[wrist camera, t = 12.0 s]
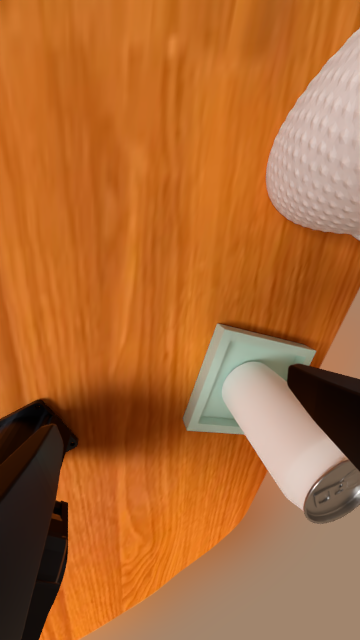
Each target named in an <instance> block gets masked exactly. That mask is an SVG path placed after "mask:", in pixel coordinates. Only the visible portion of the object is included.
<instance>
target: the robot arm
mask: <svg viewBox="0 0 360 640" xmlns="http://www.w3.org/2000/svg"><path fill="white" fill-rule="evenodd" d="M287 385H288V387H289V389H290V390H291V391H292V393H293V394H294V395H295V397H296V398H297V399H298V401H299V402H300V403H301V405H302V406H303V407H304V409H305V410H306V411H307V413H308V414H309V415H310V417H311V418H312V419H313V420H314V421H315V423H316V424H317V425H318V426H319V427H320V428H321V429H322V431H323V432H324V433H325V434H326V435H327V436H328V437H329V438H330V439H331V441H332V442H333V443H334V444H335V445H336V446H337V447H338V448H339V449H340V451H341V452H342V453H343V454H344V455H345V456H346V457H347V458H348V459H349V460H350V462H351V463H352V464H353V465H354V466H355V467H356V468H357V469H358V470H359V472H360V379H357V378H353V377H349V376H345V375H341V374H338V373H334V372H330V371H326V370H322V369H319V368H315V367H311V366H307V365H303V364H299V363H297V364H293V365H290V366H289V367H288V374H287ZM36 405H39V406H40V407H37V406H36ZM72 442H74V443H72ZM77 445H78V439H77V437H76V436H75V435H74V434H73V433H72V432H71V430H70V429H69V428H68V427H67V426H66V425H65V424H64V423H63V421H62V420H61V419H60V418H59V417H58V416H57V415H55V414H54V413H53V412H52V410H51V409H50V408H49V407H48V406H47V405H46V404H45V403H44V402H43V401H41V400H37V401H34V402H32V403H30V404H28V405H26V406H25V407H23V408H21V409H19V410H17V411H15V412H13V413H11V414H9V415H7V416H5V417H3V418H1V419H0V640H39V638H40V635H41V632H42V629H43V627H44V624H45V621H46V618H47V616H48V613H49V611H50V609H51V607H52V605H53V603H54V600H55V598H56V596H57V593H58V591H59V588H60V585H61V582H62V579H63V576H64V572H65V568H66V563H67V555H68V503H67V502H64V501H61V502H59V501H56V495H57V489H58V482H59V475H60V469H61V466H62V462H63V459H64V456H65V453H66V452H68V451H69V450H71V449H73V448H75V447H76V446H77Z"/></svg>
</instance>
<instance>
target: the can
mask: <svg viewBox="0 0 360 640" xmlns="http://www.w3.org/2000/svg"><path fill="white" fill-rule="evenodd" d="M222 398H223V400H224V402H225V404H226V406H227V407H228V409H229V411H230V412H231V414H232V415H233V417H234V418H235V420H236V422H237V423H238V425H239V426H240V428H241V429H242V431H243V432H244V434H245V436H246V437H247V439H248V440H249V442H250V443H251V445H252V446H253V448H254V450H255V451H256V453H257V454H258V456H259V457H260V459H261V460H262V462H263V463H264V465H265V467H266V468H267V470H268V471H269V473H270V474H271V476H272V477H273V479H274V480H275V482H276V483H277V485H278V486H279V488H280V489H281V491H282V492H283V493H284V495H285V496H286V497H287V499H289V500H290V501H291V502H292V503H293V504H295V505H296V506H298V507H299V508H300V509H302V510H303V511H304V514H305V516H306V518H307V519H308V520H309V521H311V522H313V523H317V524H323V523H328V522H332V521H335V520H337V519H339V518H341V517H343V516H345V515H347V514H348V513H350V512H351V511H352V510H354V509H355V508H356V507H357V506H359V505H360V472H359V470H358V469H357V468H356V467H355V466H354V465H353V464H352V463H351V462H350V460H349V459H348V458H347V457H346V456H345V455H344V454H343V453H342V452H341V451H340V449H339V448H338V447H337V446H336V445H335V444H334V443H333V442H332V441H331V439H330V438H329V437H328V436H327V435H326V434H325V433H324V432H323V431H322V429H321V428H320V427H319V426H318V425H317V424H316V423H315V421H314V420H313V419H312V418H311V417H310V415H309V414H308V413H307V411H306V410H305V409H304V407H303V406H302V405H301V403H300V402H299V401H298V399H297V398H296V397H295V395H294V394H293V393H292V391H291V390H290V389H289V387H288V385H287V382H286V381H285V380H284V379H283V378H281V377H280V376H279V375H278V374H276V373H275V372H274V371H273V370H272V369H270V368H269V367H268V366H266V365H265V364H263V363H260V362H247V363H244V364H241V365H239V366H237V367H236V368H234V369H233V370H232V371H231V372H230V373H229V374H228V376H227V377H226V379H225V381H224V383H223V387H222Z"/></svg>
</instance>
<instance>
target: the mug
mask: <svg viewBox="0 0 360 640" xmlns="http://www.w3.org/2000/svg"><path fill="white" fill-rule="evenodd" d="M266 185H267V191H268V195H269V197H270V200H271V202H272V204H273V205H274V207H275V208H276V209H277V210H278V211H279V212H280V213H281V214H282V215H283V216H285V217H286V218H287V219H288V220H290V221H292V222H294V223H295V224H299V225H301V226H303V227H309V228H311V229H313V230H320V231H323V232H333V233H338V234H343V233H346V234H351V235H352V236H353V237H355V238H356V239H358V240H359V241H360V29H359V30H357V31H356V32H355V33H354V34H353V35H352V36H351V37H350V38H349V39H348V40H347V41H346V42H345V44H344V45H343V46H342V47H341V48H340V50H339V51H338V52H337V53H336V54H335V55H334V56H332V57H331V58H330V59H329V60H328V61H327V63H326V64H325V65H324V67H323V68H322V70H321V71H320V73H319V74H318V75H317V76H316V77H315V78H314V79H313V80H312V81H311V82H310V83H309V85H308V87H307V89H306V90H305V92H304V93H303V94H302V95H301V96H300V97H299V98H298V100H297V102H296V104H295V106H294V107H293V109H292V110H291V111H290V112H289V114H288V116H287V118H286V120H285V122H284V123H283V124H282V126H281V128H280V130H279V133H278V135H277V136H276V138H275V140H274V144H273V147H272V149H271V152H270V155H269V159H268V163H267V170H266Z"/></svg>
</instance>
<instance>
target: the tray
mask: <svg viewBox="0 0 360 640" xmlns="http://www.w3.org/2000/svg"><path fill="white" fill-rule="evenodd" d="M315 353H316V351H315V350H314V349H312V348H310V347H308V346H306V345H304V344H300V343H296V342H292V341H288V340H284V339H280V338H276V337H271V336H267V335H263V334H259V333H255V332H251V331H247V330H243V329H239V328H235V327H231V326H226V325H222V324H218V323H217V325H216V328H215V331H214V334H213V336H212V339H211V342H210V345H209V347H208V350H207V353H206V356H205V358H204V361H203V364H202V367H201V370H200V372H199V375H198V378H197V381H196V383H195V386H194V389H193V392H192V394H191V397H190V400H189V403H188V405H187V408H186V411H185V414H184V416H183V421H184V424H185V427H186V430H187V431H201V432H216V433H231V434H244V432H243V431H242V429H241V428H240V426H239V425H238V423H237V422H236V420H235V418H234V417H233V415H232V414H231V412H230V411H229V409H228V407H227V406H226V404H225V402H224V400H223V398H222V387H223V383H224V381H225V379H226V377H227V376H228V374H229V373H230V372H231V371H232V370H233V369H234V368H236V367H237V366H239V365H241V364H244V363H247V362H260V363H263V364H265V365H266V366H268V367H269V368H270V369H272V370H273V371H274V372H275V373H276V374H278V375H279V376H280V377H281V378H283V379H284V380H285V381H286V382H287V374H288V367H289V366H290V365H293V364H297V363H299V364H303V365H307V366H309V365H310V363H311V361H312V359H313V357H314V355H315Z"/></svg>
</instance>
